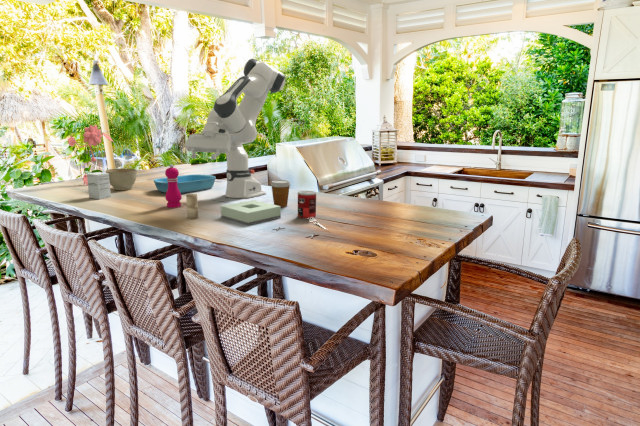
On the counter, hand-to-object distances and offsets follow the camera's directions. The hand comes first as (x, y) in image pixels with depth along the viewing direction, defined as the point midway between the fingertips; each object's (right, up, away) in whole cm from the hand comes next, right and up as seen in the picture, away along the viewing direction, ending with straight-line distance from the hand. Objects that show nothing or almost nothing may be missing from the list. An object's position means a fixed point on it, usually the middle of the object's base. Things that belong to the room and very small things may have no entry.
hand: (203, 158), depth 188 cm
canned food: (+45, -26, 0) cm, 52 cm away
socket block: (+22, -26, -3) cm, 34 cm away
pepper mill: (-18, -21, +15) cm, 31 cm away
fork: (+52, -30, -16) cm, 62 cm away
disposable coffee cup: (+32, -21, +20) cm, 43 cm away
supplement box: (-61, -16, +32) cm, 71 cm away
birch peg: (-3, -26, -6) cm, 27 cm away
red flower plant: (-81, -7, +68) cm, 106 cm away
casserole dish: (-25, -11, +58) cm, 64 cm away
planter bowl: (-61, -11, +56) cm, 83 cm away
